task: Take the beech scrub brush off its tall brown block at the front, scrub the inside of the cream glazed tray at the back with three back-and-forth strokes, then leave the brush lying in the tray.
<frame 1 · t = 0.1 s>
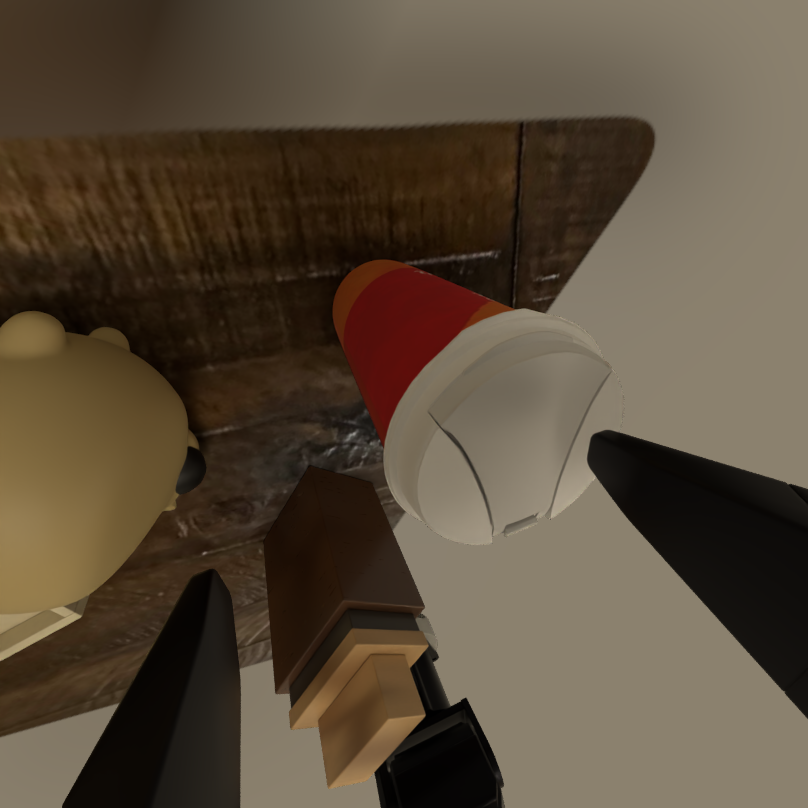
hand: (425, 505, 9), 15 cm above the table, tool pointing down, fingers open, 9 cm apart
brown block: (318, 511, 28), on the table
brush: (351, 650, 20), point 10 cm above the table, touching brown block
tan animal figurine: (93, 399, 20), on the table
paper cup: (379, 307, 23), on the table
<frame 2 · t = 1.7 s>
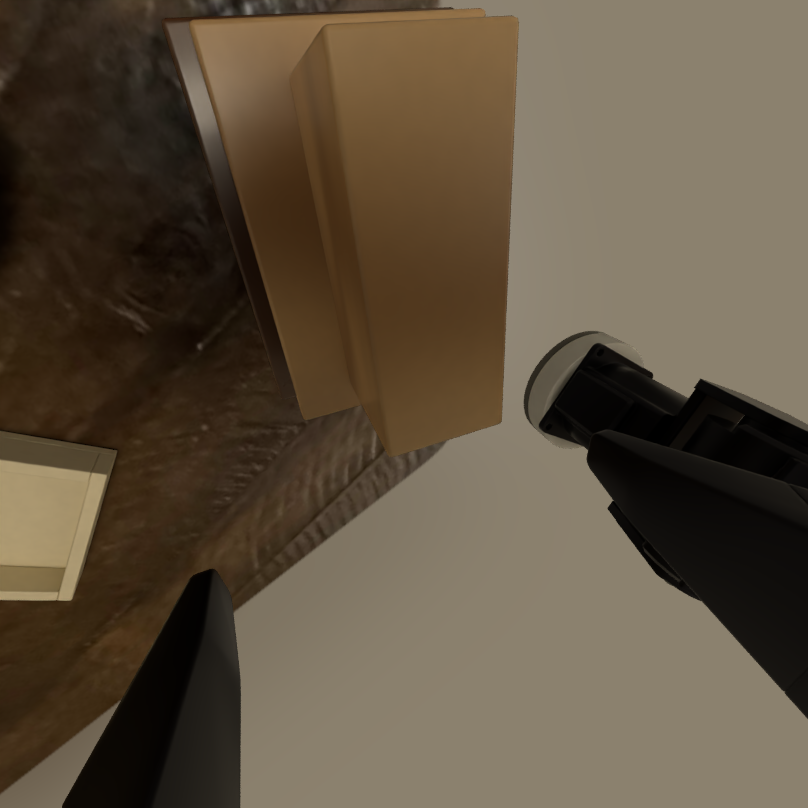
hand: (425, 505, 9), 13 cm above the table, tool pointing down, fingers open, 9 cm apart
brown block: (296, 198, 17), on the table
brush: (355, 234, 9), point 10 cm above the table, touching brown block
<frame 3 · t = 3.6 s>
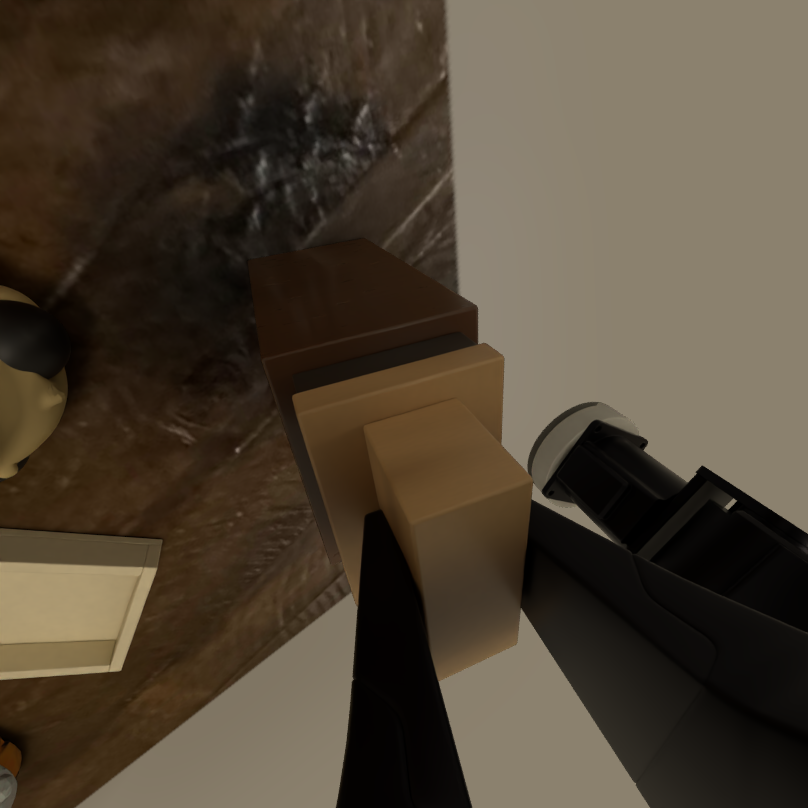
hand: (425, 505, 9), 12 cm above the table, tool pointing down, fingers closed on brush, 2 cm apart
brown block: (325, 326, 19), on the table
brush: (395, 452, 11), point 10 cm above the table, touching brown block, gripper
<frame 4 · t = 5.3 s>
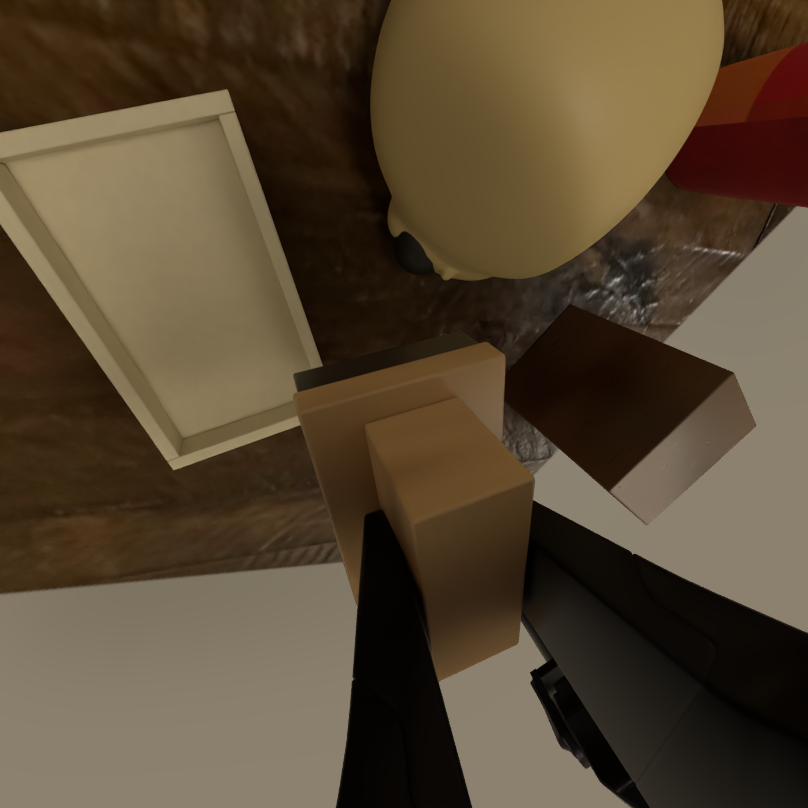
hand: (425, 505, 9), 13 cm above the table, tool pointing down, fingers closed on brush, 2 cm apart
tray: (199, 301, 18), on the table
brown block: (549, 368, 27), on the table
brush: (396, 452, 11), point 11 cm above the table, touching gripper
tan animal figurine: (451, 136, 18), on the table
paper cup: (703, 131, 22), on the table
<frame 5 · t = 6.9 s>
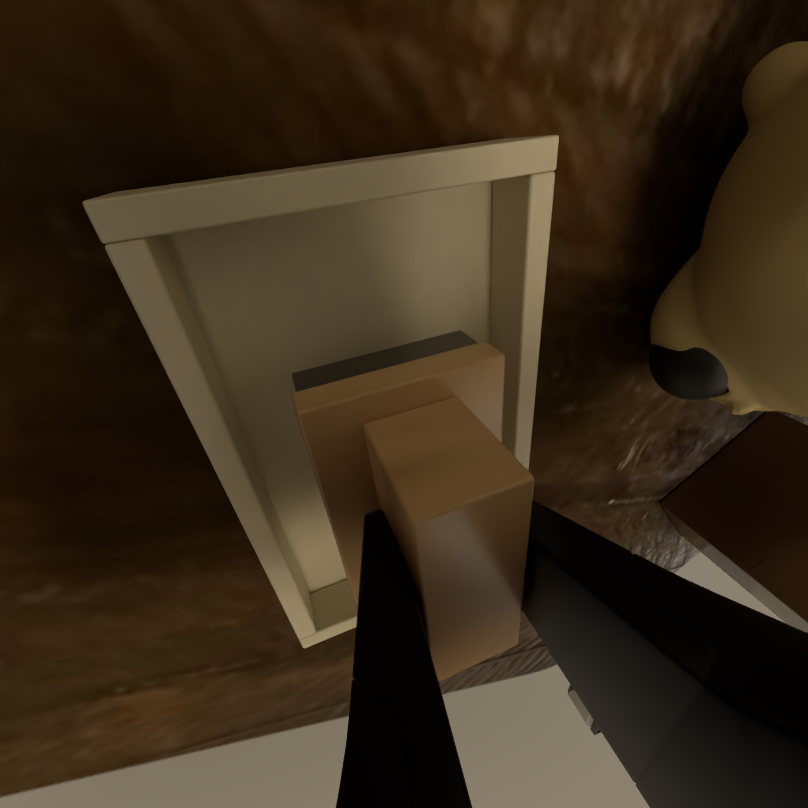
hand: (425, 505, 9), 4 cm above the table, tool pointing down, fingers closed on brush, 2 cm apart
tray: (377, 420, 12), on the table
brown block: (721, 476, 22), on the table
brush: (396, 452, 11), point 2 cm above the table, touching gripper
tan animal figurine: (737, 209, 13), on the table
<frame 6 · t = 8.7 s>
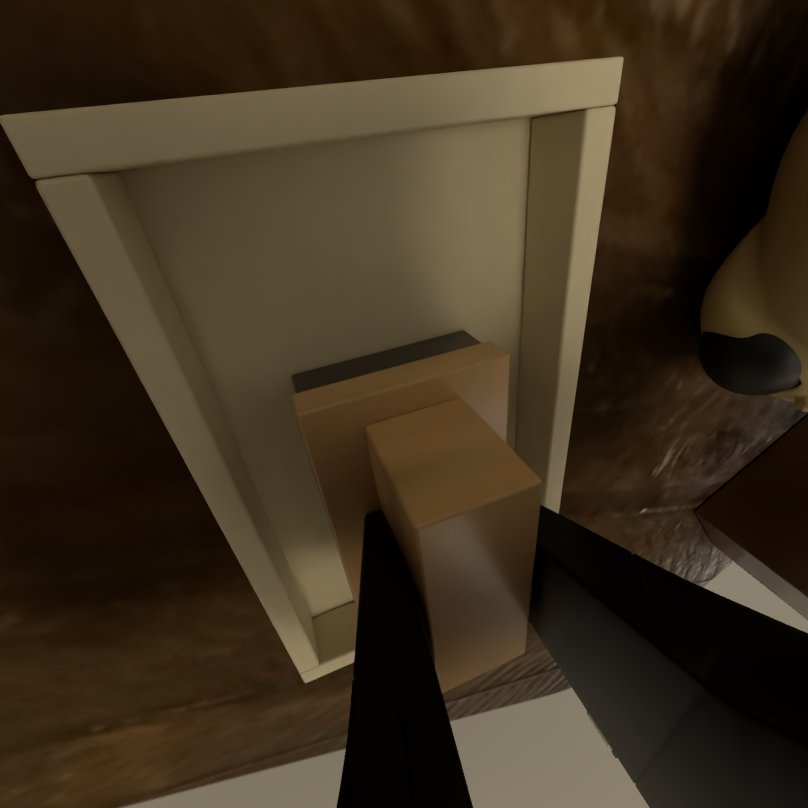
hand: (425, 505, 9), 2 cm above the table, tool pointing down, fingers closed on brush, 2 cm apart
tray: (389, 420, 10), on the table
brown block: (760, 482, 20), on the table
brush: (398, 455, 10), resting on tray, touching gripper
tan animal figurine: (799, 177, 11), on the table
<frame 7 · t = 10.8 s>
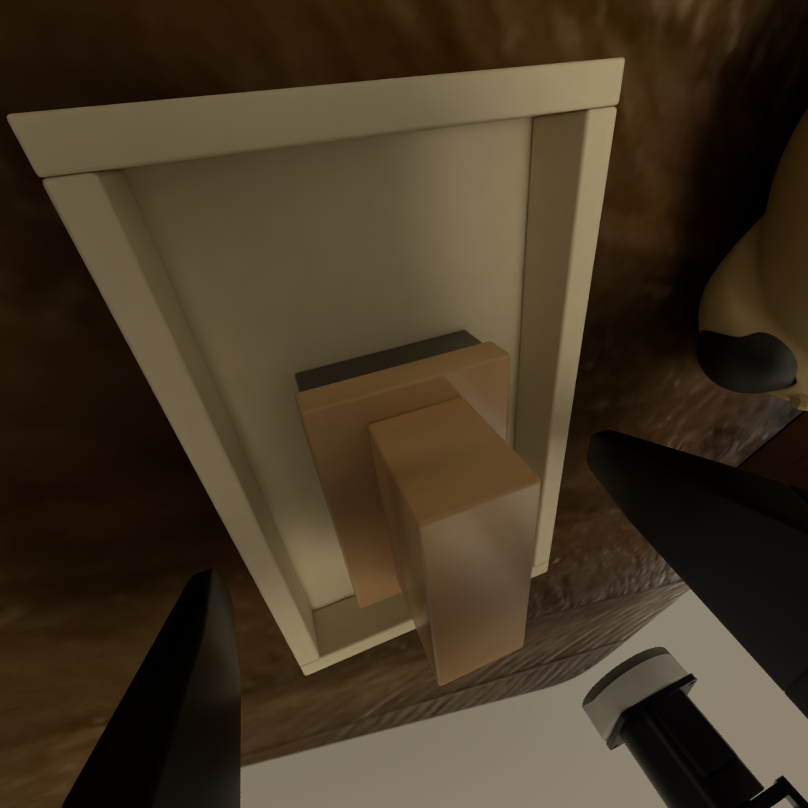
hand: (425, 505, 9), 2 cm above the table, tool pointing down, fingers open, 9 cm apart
tray: (389, 417, 10), on the table
brown block: (755, 479, 20), on the table
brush: (399, 452, 11), resting on tray
tan animal figurine: (798, 177, 11), on the table
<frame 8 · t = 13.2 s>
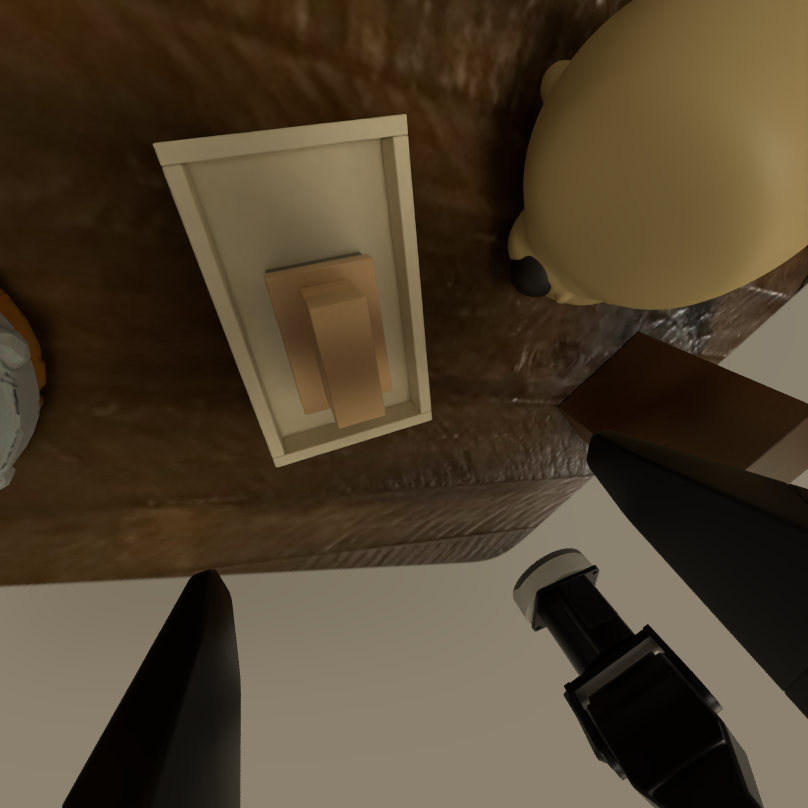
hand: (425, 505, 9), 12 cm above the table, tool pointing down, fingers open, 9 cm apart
tray: (322, 306, 18), on the table
brown block: (609, 390, 28), on the table
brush: (328, 327, 18), resting on tray
tan animal figurine: (568, 169, 19), on the table
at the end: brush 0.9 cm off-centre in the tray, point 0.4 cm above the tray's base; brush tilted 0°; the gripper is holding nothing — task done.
